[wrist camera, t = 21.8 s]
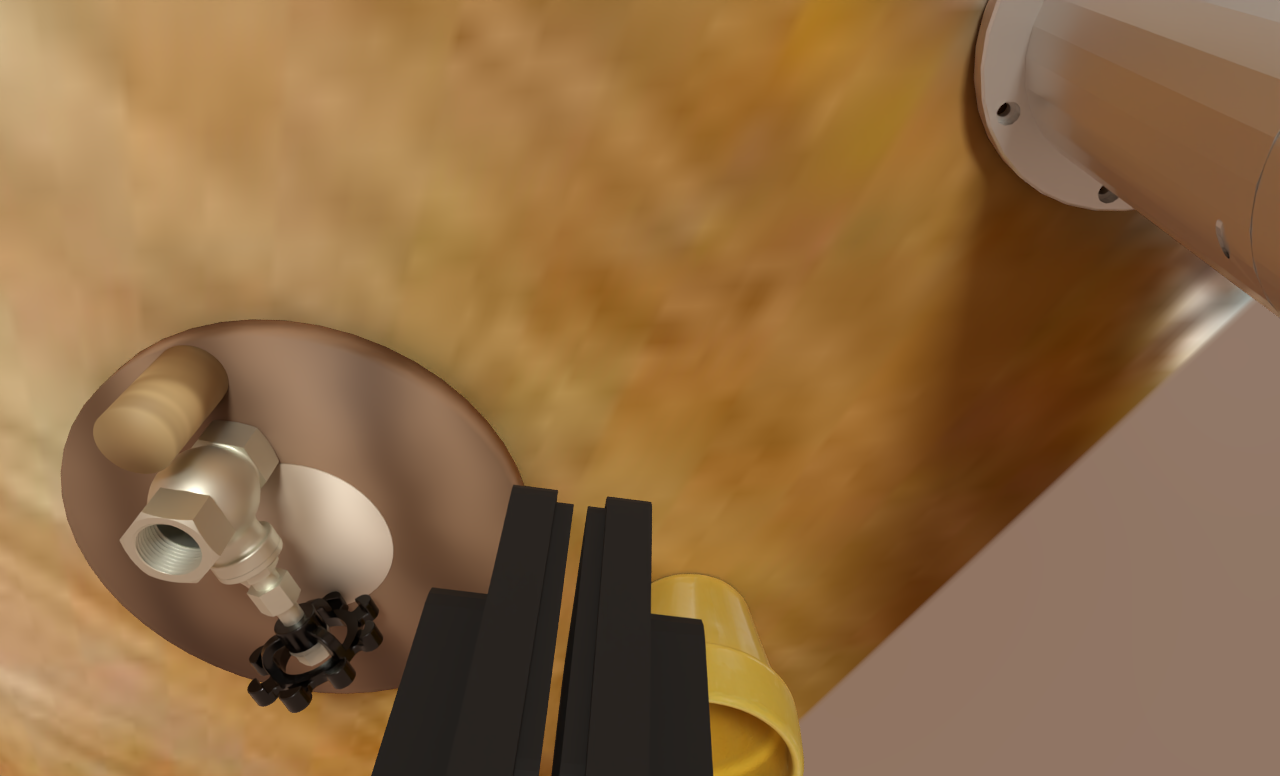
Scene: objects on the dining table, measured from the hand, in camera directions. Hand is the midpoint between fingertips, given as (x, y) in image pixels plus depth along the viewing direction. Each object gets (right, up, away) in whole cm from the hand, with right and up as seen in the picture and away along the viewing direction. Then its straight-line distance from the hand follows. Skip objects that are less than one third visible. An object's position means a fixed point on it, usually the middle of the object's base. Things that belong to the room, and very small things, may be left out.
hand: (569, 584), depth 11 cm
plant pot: (+3, -10, +38) cm, 39 cm away
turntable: (-15, -4, +33) cm, 37 cm away
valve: (-16, -4, +31) cm, 35 cm away
